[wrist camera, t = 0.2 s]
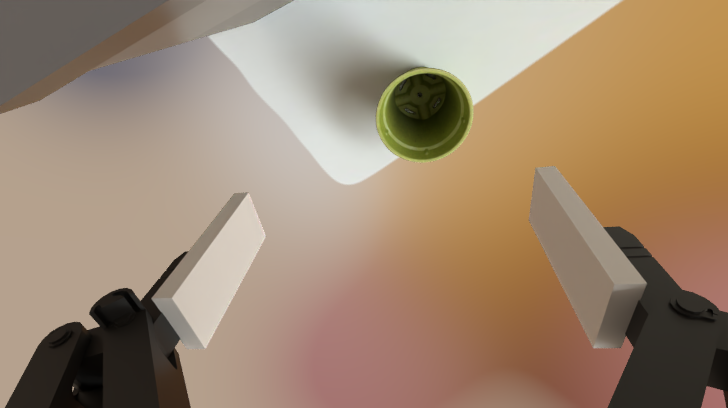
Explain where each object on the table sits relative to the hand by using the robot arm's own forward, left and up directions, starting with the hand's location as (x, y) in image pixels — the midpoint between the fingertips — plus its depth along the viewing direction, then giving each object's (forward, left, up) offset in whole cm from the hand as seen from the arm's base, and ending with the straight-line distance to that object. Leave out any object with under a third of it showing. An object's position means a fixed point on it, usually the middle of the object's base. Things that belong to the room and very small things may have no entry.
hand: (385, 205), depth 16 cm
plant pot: (+3, +2, -28) cm, 29 cm away
